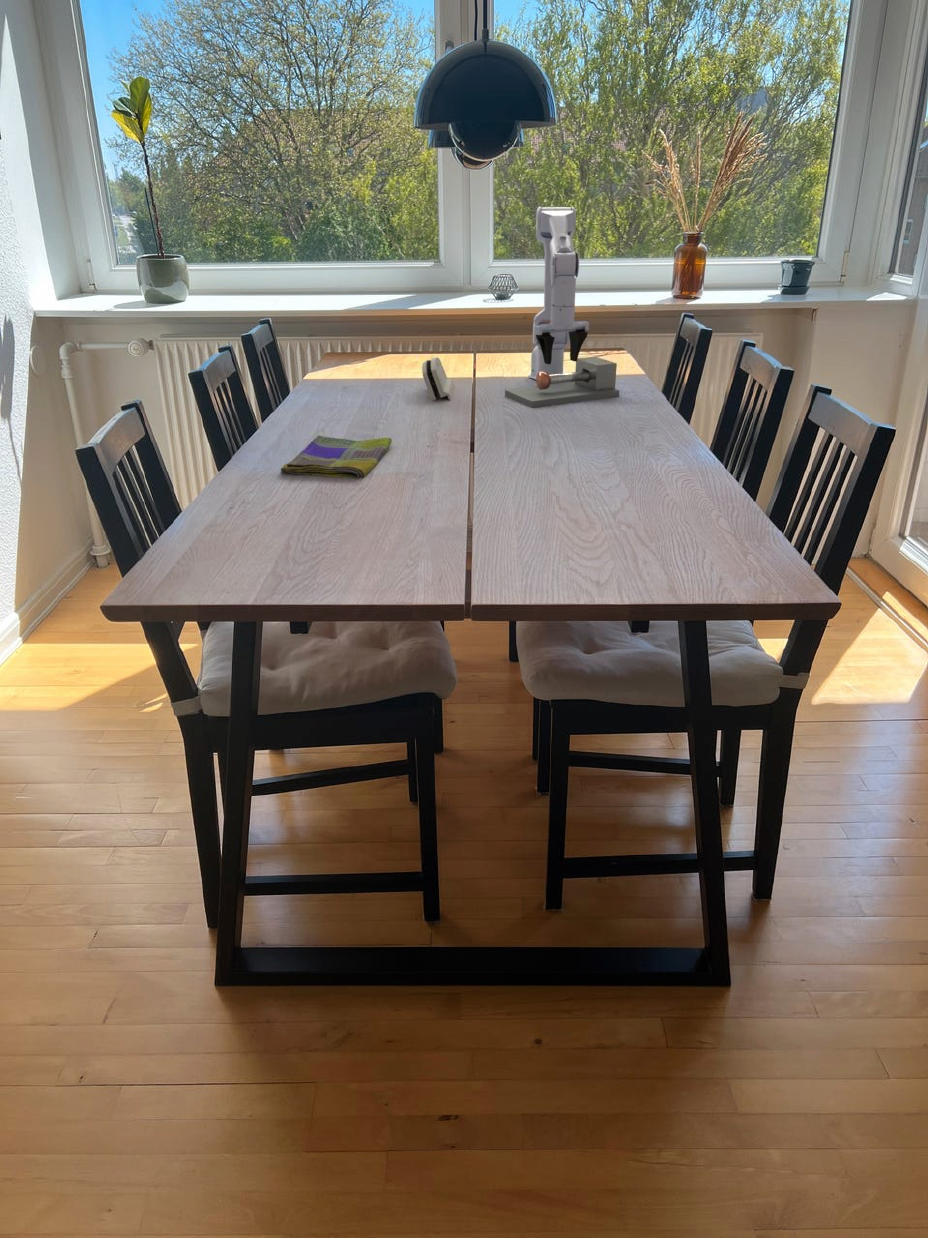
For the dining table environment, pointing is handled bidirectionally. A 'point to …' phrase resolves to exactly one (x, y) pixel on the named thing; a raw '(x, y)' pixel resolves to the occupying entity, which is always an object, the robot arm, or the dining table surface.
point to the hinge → (437, 379)
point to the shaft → (559, 378)
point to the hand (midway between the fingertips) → (560, 362)
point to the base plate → (557, 394)
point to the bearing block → (597, 373)
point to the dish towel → (339, 457)
